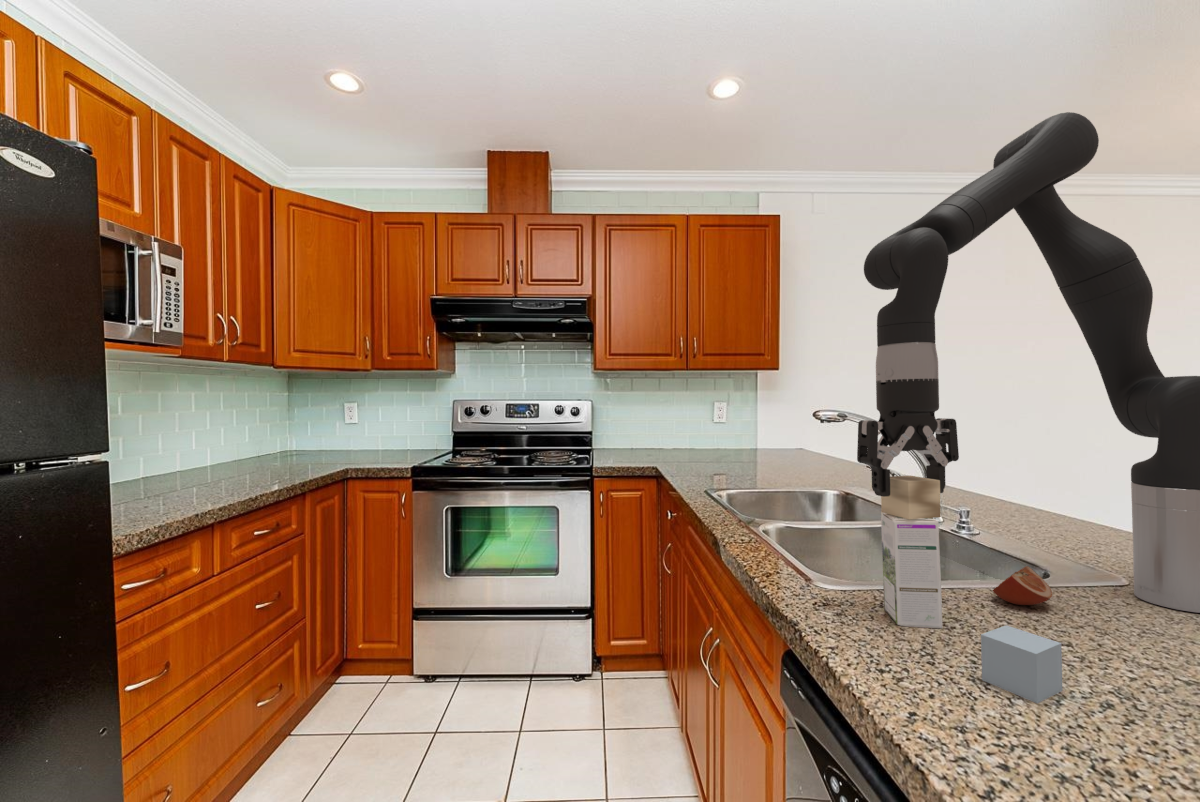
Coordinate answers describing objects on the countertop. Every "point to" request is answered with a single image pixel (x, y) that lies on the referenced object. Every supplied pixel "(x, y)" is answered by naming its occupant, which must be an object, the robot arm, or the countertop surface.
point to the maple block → (912, 498)
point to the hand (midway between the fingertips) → (908, 494)
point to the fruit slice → (1024, 588)
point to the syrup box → (911, 571)
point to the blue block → (1022, 663)
